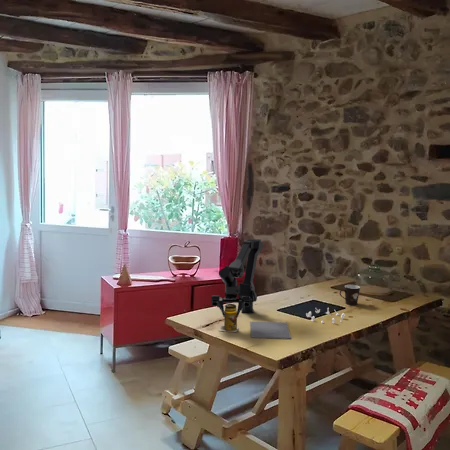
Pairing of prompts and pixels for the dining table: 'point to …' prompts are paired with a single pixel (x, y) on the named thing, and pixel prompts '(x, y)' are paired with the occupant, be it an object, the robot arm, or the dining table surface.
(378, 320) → the dining table surface
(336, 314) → the game piece set
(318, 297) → the dining table surface
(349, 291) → the coffee mug
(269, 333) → the rubber mat
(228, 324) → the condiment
